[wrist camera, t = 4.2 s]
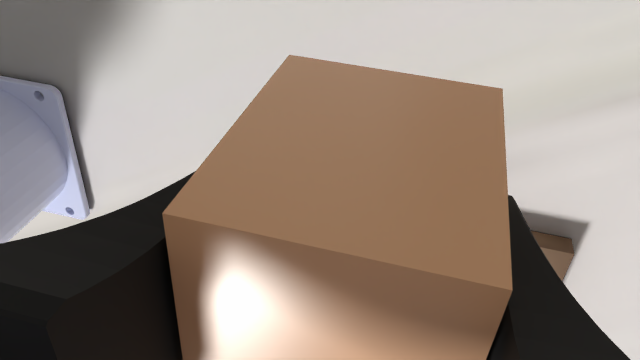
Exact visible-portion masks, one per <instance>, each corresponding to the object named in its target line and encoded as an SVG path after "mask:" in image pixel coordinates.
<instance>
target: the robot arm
mask: <svg viewBox="0 0 640 360" xmlns="http://www.w3.org/2000/svg"><path fill="white" fill-rule="evenodd" d="M40 92H41V93H42V94H43V96H44V97H43V96H42V95H41V94H40ZM195 172H196V171H195ZM195 172H193V173H192V174H190V175H188V176H186V177H185V178H183V179H181V180H179V181H177V182H175V183H174V184H172V185H170V186H168V187H166V188H164V189H162V190H160V191H158V192H156V193H154V194H152V195H151V196H148V197H146V198H144V199H142V200H140V201H138V202H135V203H133V204H131V205H128V206H126V207H124V208H121V209H119V210H116V211H114V212H111V213H109V214H106V215H103V216H100V217H97V218H94V219H91V220H88V221H85V222H82V223H79V224H76V225H73V226H70V227H67V228H64V229H60V230H56V231H53V232H49V233H45V234H41V235H37V236H33V237H29V238H25V239H20V240H16V241H11V242H8V241H9V240H10V239H11V238H12V237H13V236H14V235H16V234H17V233H18V232H19V231H20V230H21V229H22V228H23V227H24V226H25V225H27V224H28V223H29V222H30V221H31V220H32V219H33V218H34V217H35V216H37V215H38V214H39V213H40V212H41V211H46V212H50V213H55V214H59V215H63V216H68V217H72V218H76V219H86V218H87V217H88V215H89V214H90V210H89V205H88V201H87V197H86V193H85V189H84V185H83V181H82V176H81V172H80V168H79V164H78V160H77V156H76V151H75V147H74V143H73V139H72V135H71V131H70V127H69V122H68V118H67V114H66V110H65V106H64V102H63V97H62V95H61V92H60V91H59V90H58V89H57V88H56V87H54V86H52V85H47V84H42V83H37V82H31V81H26V80H20V79H15V78H10V77H4V76H0V360H183V357H182V350H181V343H180V336H179V329H178V321H177V314H176V307H175V300H174V293H173V286H172V279H171V272H170V265H169V257H168V250H167V243H166V236H165V229H164V222H163V215H162V213H163V212H164V210H165V209H166V208H167V207H168V205H169V204H170V203H171V202H172V200H173V199H174V198H175V197H176V195H177V194H178V193H179V192H180V190H181V189H182V188H183V187H184V185H185V184H186V183H187V182H188V181H189V179H190V178H191V177H192V176H193V174H194V173H195ZM508 209H509V229H510V249H511V269H512V289H513V291H512V293H511V296H510V298H509V301H508V304H507V306H506V309H505V311H504V314H503V317H502V319H501V322H500V324H499V327H498V330H497V332H496V335H495V337H494V340H493V343H492V345H491V348H490V350H489V353H488V356H487V358H486V360H630V359H629V358H628V357H627V356H626V355H625V354H624V353H623V352H622V351H621V350H620V349H619V348H618V347H617V346H616V345H615V344H614V343H613V342H612V341H611V340H610V339H609V338H608V336H607V335H606V334H605V333H604V332H603V331H602V330H601V329H600V328H599V327H598V326H597V325H596V323H595V322H594V321H593V320H592V319H591V317H590V316H589V315H588V314H587V313H586V312H585V310H584V309H583V308H582V307H581V306H580V304H579V303H578V302H577V301H576V300H575V298H574V297H573V296H572V294H571V293H570V292H569V290H568V289H567V288H566V286H565V285H564V283H563V282H562V280H561V279H560V278H559V276H558V275H557V273H556V272H555V270H554V269H553V267H552V266H551V264H550V262H549V261H548V259H547V258H546V256H545V254H544V253H543V251H542V249H541V248H540V246H539V244H538V243H537V241H536V239H535V238H534V236H533V234H532V232H531V230H530V228H529V227H528V225H527V223H526V221H525V219H524V217H523V215H522V213H521V211H520V209H519V207H518V205H517V203H516V201H515V200H514V198H513V197H512V196H510V195H508Z"/></svg>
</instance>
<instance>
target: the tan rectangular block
mask: <svg viewBox="0 0 640 360" xmlns="http://www.w3.org/2000/svg"><path fill="white" fill-rule="evenodd" d="M162 215H163V222H164V229H165V236H166V243H167V250H168V257H169V265H170V272H171V279H172V286H173V293H174V300H175V307H176V314H177V321H178V329H179V336H180V343H181V350H182V357H183V360H486V358H487V356H488V353H489V350H490V348H491V345H492V343H493V340H494V337H495V335H496V332H497V330H498V327H499V324H500V322H501V319H502V317H503V314H504V311H505V309H506V306H507V304H508V301H509V298H510V296H511V293H512V291H513V289H512V269H511V249H510V229H509V209H508V189H507V169H506V149H505V129H504V109H503V89H501V88H494V87H488V86H482V85H476V84H469V83H463V82H457V81H450V80H444V79H438V78H432V77H425V76H419V75H413V74H407V73H400V72H394V71H388V70H382V69H375V68H369V67H363V66H356V65H350V64H344V63H338V62H331V61H325V60H319V59H313V58H306V57H300V56H294V55H289V56H288V57H287V58H286V60H285V61H284V62H283V63H282V65H281V66H280V67H279V68H278V70H277V71H276V72H275V73H274V75H273V76H272V77H271V78H270V80H269V81H268V82H267V83H266V85H265V86H264V87H263V88H262V90H261V91H260V92H259V93H258V94H257V96H256V97H255V98H254V99H253V101H252V102H251V103H250V104H249V106H248V107H247V108H246V109H245V111H244V112H243V113H242V114H241V116H240V117H239V118H238V119H237V121H236V122H235V123H234V124H233V126H232V127H231V128H230V129H229V131H228V132H227V133H226V134H225V136H224V137H223V138H222V139H221V141H220V142H219V143H218V144H217V146H216V147H215V148H214V149H213V151H212V152H211V153H210V154H209V156H208V157H207V158H206V159H205V161H204V162H203V163H202V164H201V166H200V167H199V168H198V169H197V171H196V172H195V173H194V174H193V176H192V177H191V178H190V179H189V181H188V182H187V183H186V184H185V185H184V187H183V188H182V189H181V190H180V192H179V193H178V194H177V195H176V197H175V198H174V199H173V200H172V202H171V203H170V204H169V205H168V207H167V208H166V209H165V210H164V212H163V213H162Z"/></svg>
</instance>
